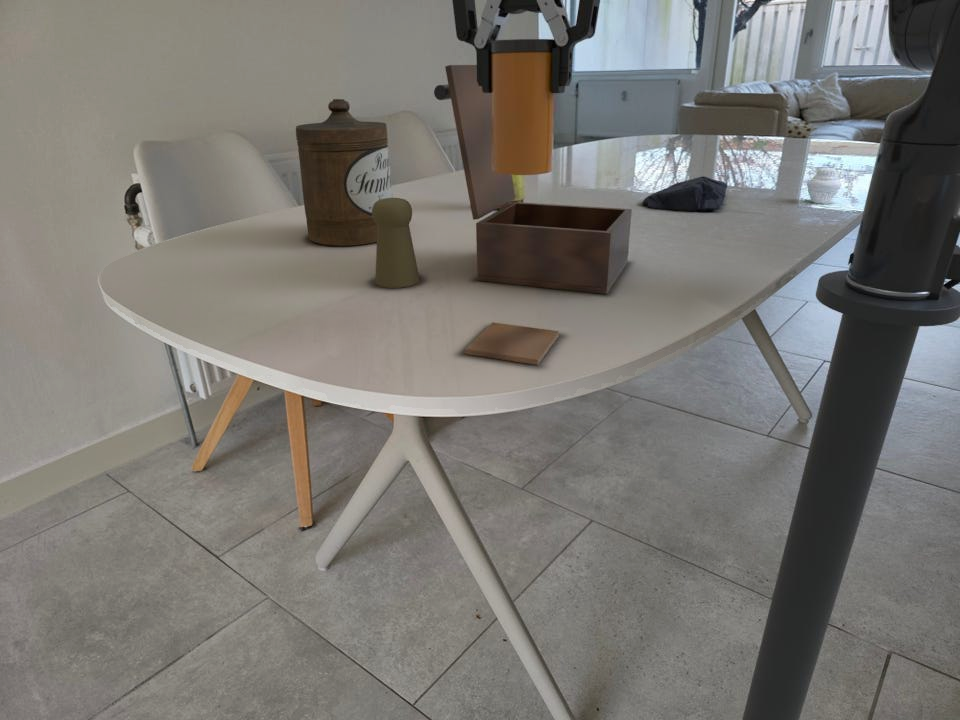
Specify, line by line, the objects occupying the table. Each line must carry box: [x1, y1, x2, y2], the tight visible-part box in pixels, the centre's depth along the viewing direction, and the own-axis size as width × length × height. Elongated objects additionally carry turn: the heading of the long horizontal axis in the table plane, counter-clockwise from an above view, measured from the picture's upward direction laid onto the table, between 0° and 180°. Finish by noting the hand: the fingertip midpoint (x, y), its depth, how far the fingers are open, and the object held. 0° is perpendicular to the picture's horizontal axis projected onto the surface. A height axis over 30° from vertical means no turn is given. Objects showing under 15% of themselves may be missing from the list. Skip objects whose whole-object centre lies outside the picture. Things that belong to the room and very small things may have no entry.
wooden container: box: [295, 98, 394, 247], centre depth 103 cm, size 15×15×22 cm
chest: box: [475, 202, 633, 295], centre depth 85 cm, size 18×15×8 cm
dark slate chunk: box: [642, 175, 728, 212], centre depth 129 cm, size 15×22×5 cm
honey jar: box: [490, 38, 556, 176], centre depth 59 cm, size 6×6×12 cm
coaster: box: [465, 321, 560, 366], centre depth 64 cm, size 8×8×1 cm
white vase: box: [806, 166, 842, 205], centre depth 125 cm, size 6×6×7 cm
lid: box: [433, 64, 515, 221], centre depth 84 cm, size 18×15×5 cm
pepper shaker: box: [372, 197, 420, 289], centre depth 82 cm, size 6×6×11 cm
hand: (523, 92), depth 58 cm, fingers closed on honey jar, 6 cm apart
